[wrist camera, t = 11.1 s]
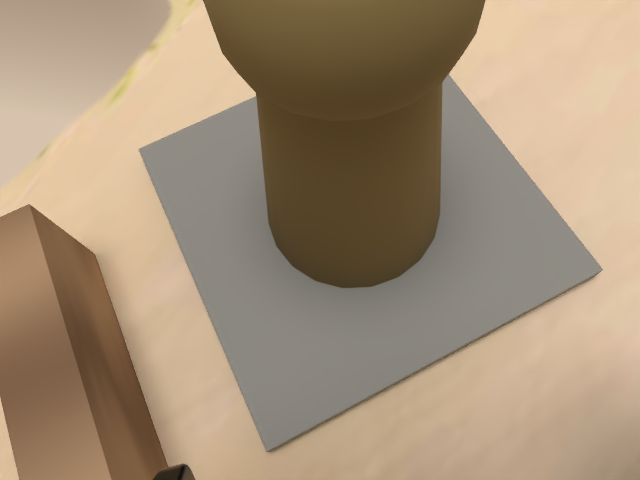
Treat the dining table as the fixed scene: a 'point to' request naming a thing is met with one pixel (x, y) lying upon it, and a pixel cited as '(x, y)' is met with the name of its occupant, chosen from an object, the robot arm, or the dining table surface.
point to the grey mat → (363, 302)
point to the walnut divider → (66, 362)
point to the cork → (348, 124)
